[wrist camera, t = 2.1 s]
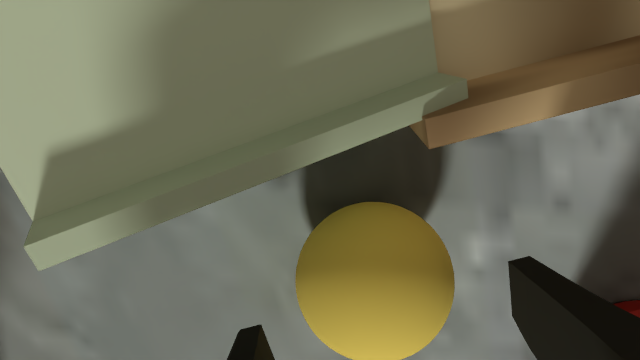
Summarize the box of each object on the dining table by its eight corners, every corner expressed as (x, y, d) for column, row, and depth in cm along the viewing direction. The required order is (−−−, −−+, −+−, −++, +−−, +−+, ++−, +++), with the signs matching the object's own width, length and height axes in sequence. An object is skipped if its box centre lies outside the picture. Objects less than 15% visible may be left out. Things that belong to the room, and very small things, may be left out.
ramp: (97, 160, 15) (-6, 282, 9) (-27, -92, 12) (-294, -138, 6) (428, 72, 15) (527, 143, 9) (390, -205, 12) (504, -357, 6)
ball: (310, 306, 18) (324, 418, 14) (275, 197, 16) (278, 288, 12) (434, 274, 18) (488, 376, 14) (415, 160, 16) (472, 238, 12)
